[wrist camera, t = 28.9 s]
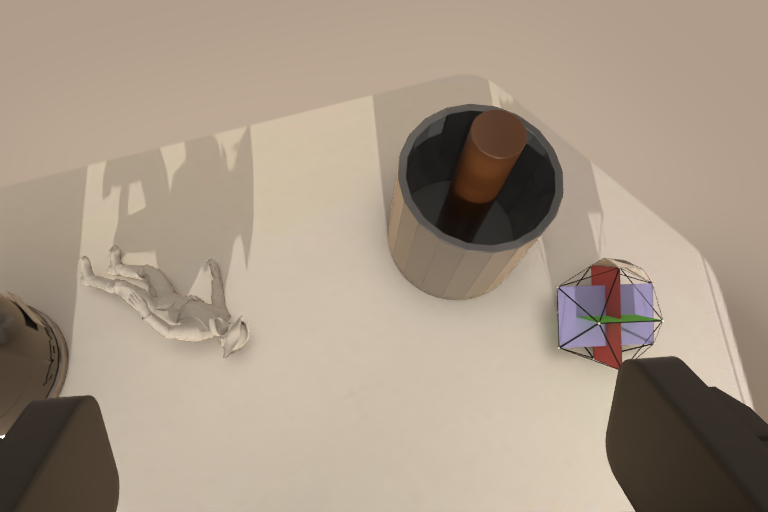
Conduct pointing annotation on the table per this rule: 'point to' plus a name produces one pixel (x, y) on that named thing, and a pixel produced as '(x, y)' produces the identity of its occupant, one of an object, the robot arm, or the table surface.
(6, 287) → the table surface
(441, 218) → the cylinder
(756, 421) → the robot arm
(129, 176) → the table surface
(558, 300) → the geometric puzzle
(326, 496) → the table surface
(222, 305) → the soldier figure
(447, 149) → the tin
